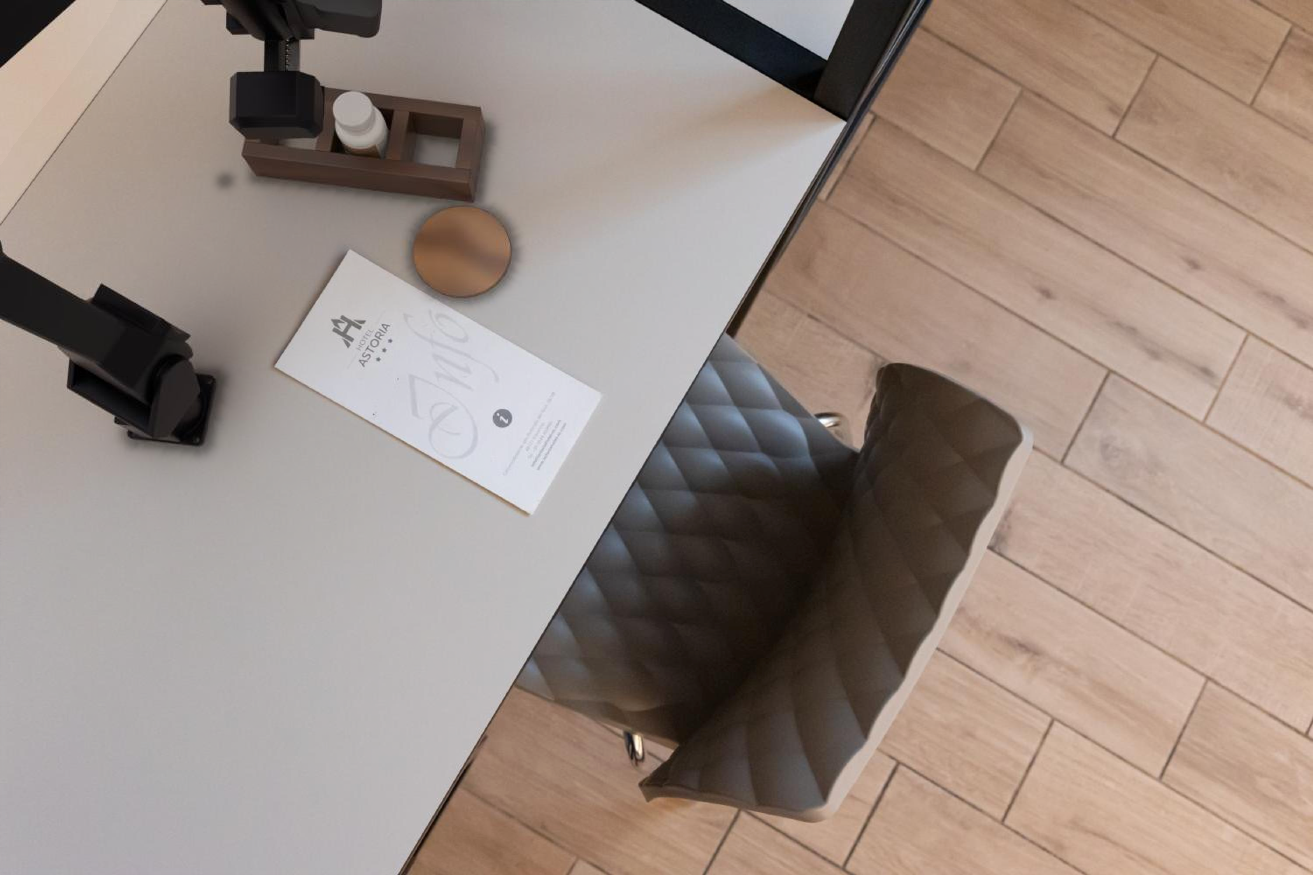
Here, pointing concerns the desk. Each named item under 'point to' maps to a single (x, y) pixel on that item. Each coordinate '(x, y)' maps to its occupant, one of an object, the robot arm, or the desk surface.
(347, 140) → the pill bottle
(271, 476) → the desk surface
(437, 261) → the coaster
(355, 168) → the rack
